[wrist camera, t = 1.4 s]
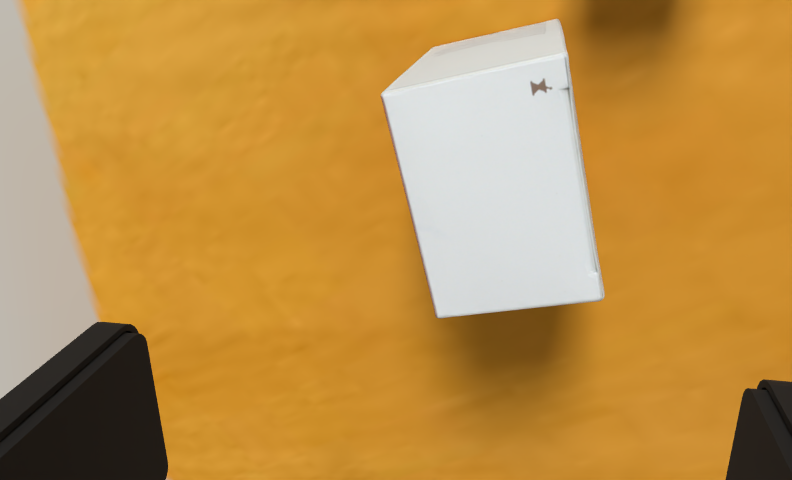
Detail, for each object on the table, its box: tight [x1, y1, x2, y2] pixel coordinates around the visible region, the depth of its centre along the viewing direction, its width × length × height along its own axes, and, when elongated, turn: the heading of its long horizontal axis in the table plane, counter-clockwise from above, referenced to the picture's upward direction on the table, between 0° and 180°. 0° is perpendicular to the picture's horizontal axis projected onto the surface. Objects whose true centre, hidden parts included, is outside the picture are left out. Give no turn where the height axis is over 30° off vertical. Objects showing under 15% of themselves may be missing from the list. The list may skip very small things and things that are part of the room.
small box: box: [381, 19, 604, 318], centre depth 26 cm, size 8×6×10 cm
